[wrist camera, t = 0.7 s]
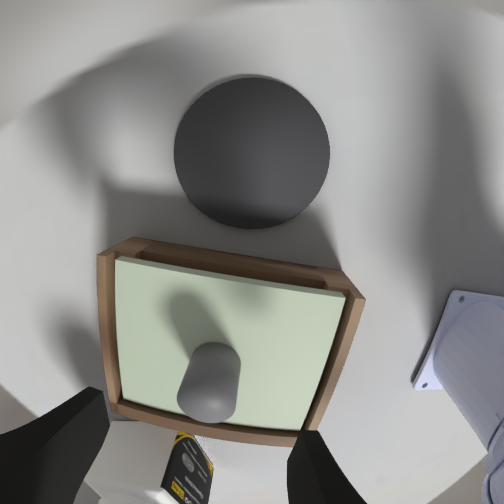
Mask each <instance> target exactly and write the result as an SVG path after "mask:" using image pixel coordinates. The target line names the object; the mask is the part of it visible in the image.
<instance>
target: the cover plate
mask: <svg viewBox="0 0 504 504" xmlns="http://www.w3.org/2000/svg"><path fill="white" fill-rule="evenodd" d="M344 302H345V296H344V295H343V293H342V292H336V291H329V290H322V289H315V288H308V287H302V286H295V285H288V284H282V283H275V282H269V281H263V280H256V279H250V278H244V277H238V276H232V275H226V274H220V273H214V272H208V271H202V270H196V269H191V268H185V267H179V266H174V265H168V264H163V263H157V262H152V261H146V260H141V259H136V258H130V257H125V256H121V257H119V258H117V259H116V260H115V307H116V329H117V344H118V356H119V366H120V376H121V384H122V392H123V399H126V400H129V401H132V402H136V403H139V404H143V405H146V406H150V407H153V408H157V409H161V410H165V411H169V412H173V413H177V414H182V415H186V416H189V417H191V418H193V419H195V420H197V421H200V422H205V423H219V422H223V423H230V424H236V425H243V426H251V427H260V428H270V429H281V430H295V431H300V429H301V427H302V425H303V422H304V420H305V417H306V415H307V412H308V410H309V407H310V405H311V402H312V399H313V397H314V394H315V391H316V389H317V386H318V383H319V380H320V378H321V375H322V372H323V369H324V366H325V363H326V360H327V357H328V354H329V351H330V348H331V345H332V342H333V339H334V336H335V333H336V329H337V326H338V323H339V319H340V316H341V313H342V309H343V306H344Z"/></svg>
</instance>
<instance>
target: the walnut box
mask: <svg viewBox="0 0 504 504" xmlns="http://www.w3.org/2000/svg"><path fill="white" fill-rule="evenodd" d="M121 256H125V257H130V258H136V259H141V260H146V261H152V262H157V263H163V264H168V265H174V266H179V267H185V268H191V269H196V270H202V271H208V272H214V273H220V274H226V275H232V276H238V277H244V278H250V279H256V280H263V281H269V282H275V283H282V284H288V285H295V286H302V287H308V288H315V289H322V290H329V291H336V292H342V293H343V295H344V296H345V302H344V306H343V309H342V313H341V316H340V319H339V323H338V326H337V329H336V333H335V336H334V339H333V342H332V345H331V348H330V351H329V354H328V357H327V360H326V363H325V366H324V369H323V372H322V375H321V378H320V380H319V383H318V386H317V389H316V391H315V394H314V397H313V399H312V402H311V405H310V407H309V410H308V412H307V415H306V417H305V420H304V422H303V425H302V427H301V429H300V431H301V430H317V428H318V426H319V424H320V422H321V420H322V417H323V415H324V413H325V411H326V408H327V406H328V404H329V401H330V399H331V397H332V394H333V392H334V389H335V387H336V384H337V382H338V379H339V377H340V374H341V372H342V369H343V366H344V364H345V361H346V358H347V356H348V353H349V350H350V347H351V344H352V341H353V338H354V335H355V333H356V329H357V326H358V323H359V320H360V317H361V314H362V311H363V307H364V304H365V301H366V299H365V298H364V297H363V295H362V294H361V293H360V292H359V290H358V289H357V288H356V287H355V285H354V284H353V283H352V282H351V281H350V279H349V278H348V277H347V276H346V275H345V273H344V272H343V271H339V270H332V269H326V268H320V267H313V266H307V265H301V264H295V263H288V262H282V261H276V260H270V259H264V258H257V257H251V256H245V255H239V254H233V253H226V252H220V251H214V250H208V249H202V248H196V247H190V246H184V245H178V244H172V243H165V242H159V241H153V240H147V239H141V238H135V237H132V238H130V239H128V240H126V241H124V242H121V243H119V244H117V245H115V246H113V247H111V248H109V249H107V250H105V251H103V252H101V253H99V254H97V298H98V315H99V328H100V339H101V348H102V356H103V364H104V371H105V378H106V384H107V390H108V396H109V401H110V406H111V411H112V412H113V413H116V414H119V415H122V416H125V417H128V418H131V419H134V420H138V421H141V422H145V423H148V424H152V425H155V426H159V427H163V428H167V429H171V430H175V431H179V432H184V433H188V434H193V435H198V436H203V437H209V438H214V439H220V440H227V441H233V442H241V443H249V444H257V445H268V446H280V447H294V445H295V442H296V440H297V438H298V435H299V433H300V431H295V430H281V429H270V428H260V427H251V426H243V425H236V424H230V423H223V422H219V423H205V422H200V421H197V420H195V419H193V418H191V417H189V416H186V415H182V414H177V413H173V412H169V411H165V410H161V409H157V408H153V407H150V406H146V405H143V404H139V403H136V402H132V401H129V400H126V399H123V392H122V384H121V376H120V366H119V356H118V344H117V329H116V307H115V260H116V259H117V258H119V257H121Z"/></svg>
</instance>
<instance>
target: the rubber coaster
mask: <svg viewBox="0 0 504 504" xmlns="http://www.w3.org/2000/svg"><path fill="white" fill-rule="evenodd" d="M329 159H330V146H329V140H328V135H327V131H326V128H325V125H324V123H323V121H322V119H321V117H320V116H319V114H318V113H317V111H316V110H315V108H314V107H313V106H312V105H311V104H310V102H309V101H308V100H307V99H306V98H304V97H303V96H302V95H301V94H300V93H298V92H297V91H295V90H294V89H292V88H290V87H288V86H286V85H284V84H282V83H279V82H276V81H273V80H268V79H262V78H242V79H237V80H232V81H229V82H226V83H223V84H220V85H218V86H216V87H214V88H212V89H211V90H209V91H208V92H206V93H205V94H203V95H202V96H201V97H200V98H199V99H198V100H197V101H196V102H195V103H194V104H193V105H192V106H191V107H190V109H189V110H188V111H187V113H186V114H185V116H184V118H183V120H182V121H181V123H180V126H179V129H178V131H177V135H176V139H175V146H174V162H175V168H176V173H177V176H178V179H179V181H180V184H181V186H182V188H183V190H184V191H185V193H186V194H187V196H188V198H189V199H190V200H191V201H192V202H193V203H194V205H195V206H196V207H198V208H199V209H200V210H201V211H202V212H203V213H205V214H206V215H208V216H209V217H211V218H213V219H214V220H216V221H218V222H221V223H223V224H226V225H229V226H233V227H238V228H246V229H258V228H265V227H271V226H274V225H277V224H280V223H283V222H285V221H287V220H289V219H291V218H292V217H294V216H296V215H297V214H299V213H300V212H301V211H302V210H304V209H305V208H306V207H307V206H308V205H309V204H310V203H311V202H312V201H313V199H314V198H315V197H316V195H317V194H318V192H319V191H320V189H321V187H322V185H323V183H324V180H325V178H326V175H327V171H328V167H329Z"/></svg>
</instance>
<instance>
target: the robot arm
mask: <svg viewBox="0 0 504 504" xmlns="http://www.w3.org/2000/svg"><path fill="white" fill-rule="evenodd" d="M461 296H462V297H461ZM460 297H461V299H460ZM459 299H460V300H459ZM424 383H425V384H424ZM412 386H413V388H414V390H432V389H445V391H446V392H447V393H448V395H449V396H450V397H451V399H452V400H453V402H454V403H455V404H456V406H457V407H458V409H459V410H460V411H461V413H462V414H463V416H464V417H465V419H466V420H467V422H468V423H469V424H470V426H471V427H472V429H473V430H474V432H475V433H476V435H477V436H478V438H479V439H480V441H481V442H482V444H483V445H484V447H485V448H486V450H487V452H488V455H487V457H486V458H485V459H484V461H483V464H484V466H485V468H486V470H487V472H488V474H487V475H486V477H485V479H484V481H483V485H482V491H481V499H482V504H504V297H502V296H495V295H488V294H481V293H475V292H468V291H461V290H454V291H452V293H451V294H450V296H449V299H448V302H447V304H446V307H445V310H444V313H443V316H442V318H441V321H440V324H439V326H438V329H437V331H436V334H435V336H434V339H433V341H432V343H431V346H430V348H429V350H428V353H427V355H426V357H425V359H424V361H423V364H422V366H421V368H420V370H419V372H418V374H417V376H416V378H415V380H414V382H413V385H412ZM109 428H110V423H109V419H108V414H107V410H106V405H105V400H104V395H103V391H101V390H98V389H95V388H92V387H90V386H89V387H87V388H86V389H84V390H82V391H81V392H79V393H78V394H76V395H75V396H73V397H72V398H70V399H69V400H67V401H66V402H64V403H62V404H61V405H59V406H58V407H56V408H54V409H53V410H51V411H49V412H48V413H46V414H44V415H43V416H41V417H39V418H37V419H35V420H33V421H31V422H30V423H28V424H26V425H23V426H22V427H19V428H17V429H14V430H12V431H9V432H7V433H4V434H1V435H0V504H73V502H74V500H75V497H76V494H77V492H78V490H79V488H80V485H81V484H82V482H83V480H84V478H85V476H86V475H87V473H88V471H89V469H90V467H91V466H92V464H93V462H94V460H95V459H96V457H97V455H98V453H99V451H100V450H101V448H102V446H103V443H104V441H105V438H106V436H107V433H108V430H109ZM287 490H288V499H289V504H367V503H366V502H365V501H364V500H363V498H362V497H361V496H360V495H359V494H358V492H357V491H356V490H355V489H354V487H353V486H352V485H351V483H350V482H349V481H348V479H347V478H346V476H345V475H344V473H343V472H342V470H341V469H340V467H339V466H338V464H337V463H336V461H335V459H334V458H333V456H332V454H331V453H330V451H329V449H328V448H327V446H326V444H325V442H324V440H323V438H322V437H321V435H320V433H319V432H318V430H301V431H300V433H299V435H298V438H297V440H296V442H295V445H294V447H293V449H292V451H291V454H290V456H289V458H288V460H287Z"/></svg>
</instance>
